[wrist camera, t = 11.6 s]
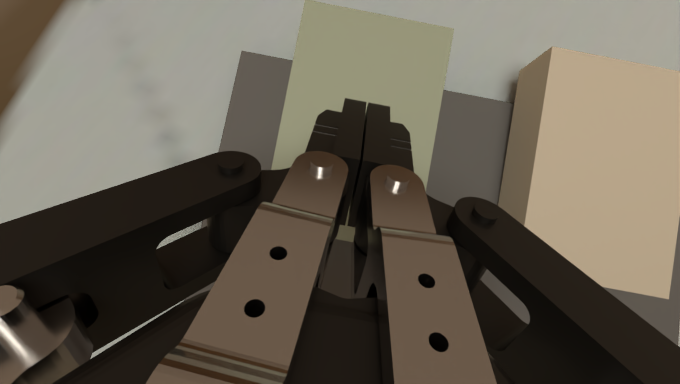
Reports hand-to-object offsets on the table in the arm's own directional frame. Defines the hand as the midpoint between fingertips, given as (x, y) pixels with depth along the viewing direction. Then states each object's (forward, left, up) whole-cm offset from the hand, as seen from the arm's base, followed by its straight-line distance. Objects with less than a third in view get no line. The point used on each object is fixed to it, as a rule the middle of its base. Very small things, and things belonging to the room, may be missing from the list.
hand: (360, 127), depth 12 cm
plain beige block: (-10, +4, -3) cm, 11 cm away
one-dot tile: (0, +4, -3) cm, 5 cm away
